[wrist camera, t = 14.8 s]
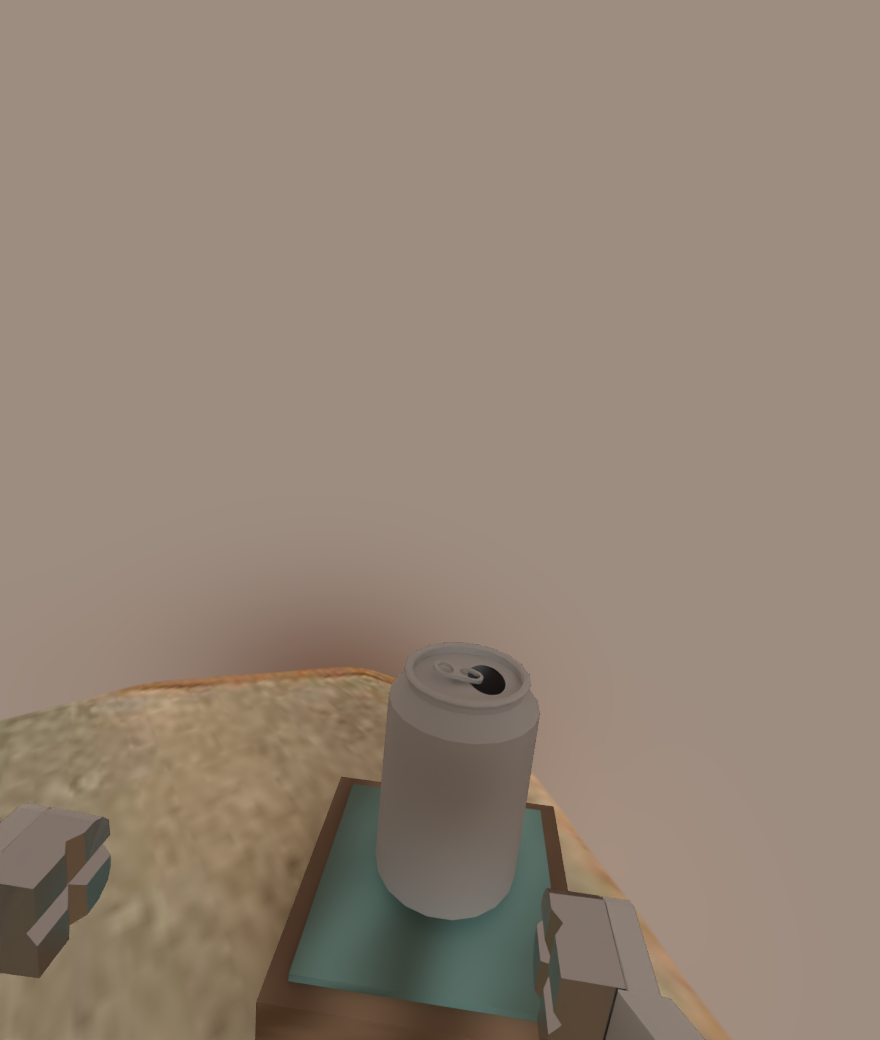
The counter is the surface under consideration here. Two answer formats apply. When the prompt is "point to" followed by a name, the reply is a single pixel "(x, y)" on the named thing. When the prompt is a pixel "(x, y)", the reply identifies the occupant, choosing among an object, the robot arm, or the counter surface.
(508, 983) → the plinth
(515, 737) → the can
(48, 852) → the robot arm
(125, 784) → the counter surface
